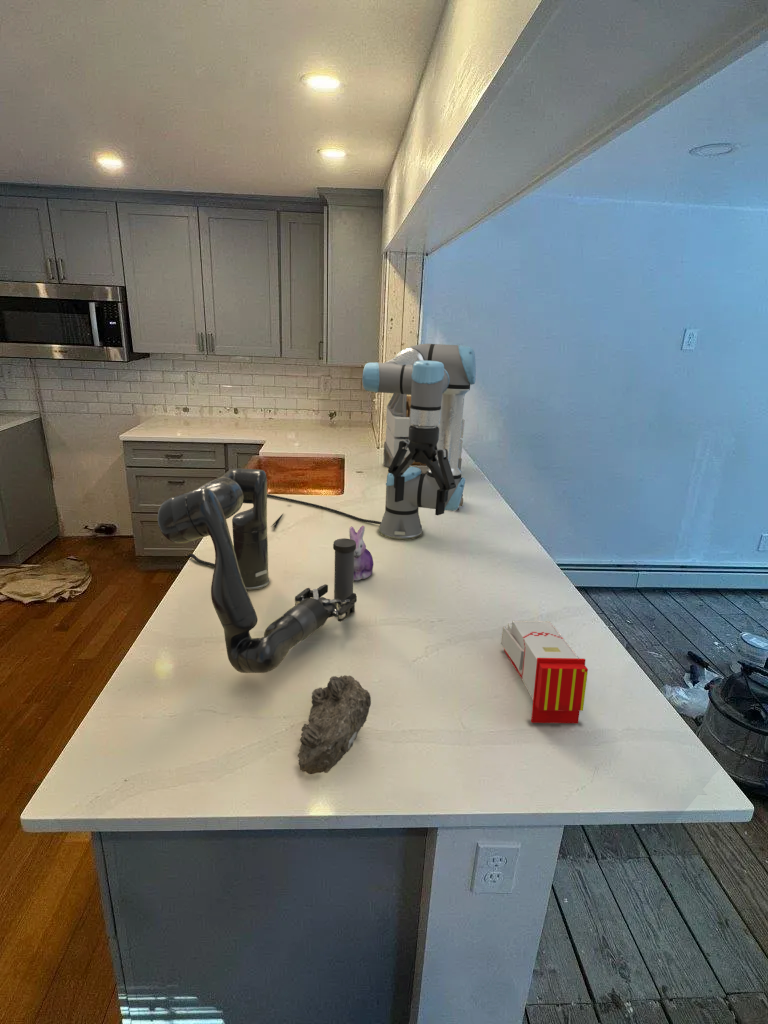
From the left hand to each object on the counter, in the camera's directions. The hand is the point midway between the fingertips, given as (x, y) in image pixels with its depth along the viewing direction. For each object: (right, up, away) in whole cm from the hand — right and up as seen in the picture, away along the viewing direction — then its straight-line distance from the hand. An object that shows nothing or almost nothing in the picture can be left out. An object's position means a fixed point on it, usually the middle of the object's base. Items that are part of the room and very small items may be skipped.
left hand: (340, 592), depth 144 cm
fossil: (+2, -21, -39) cm, 44 cm away
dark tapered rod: (-27, +18, +66) cm, 74 cm away
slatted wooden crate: (+28, +39, +131) cm, 140 cm away
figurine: (+3, +2, +24) cm, 25 cm away
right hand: (+20, +21, +3) cm, 30 cm away
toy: (+44, -16, -21) cm, 51 cm away
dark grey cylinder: (0, -6, +3) cm, 7 cm away
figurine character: (+39, +23, +87) cm, 98 cm away
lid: (+1, +12, -3) cm, 13 cm away
